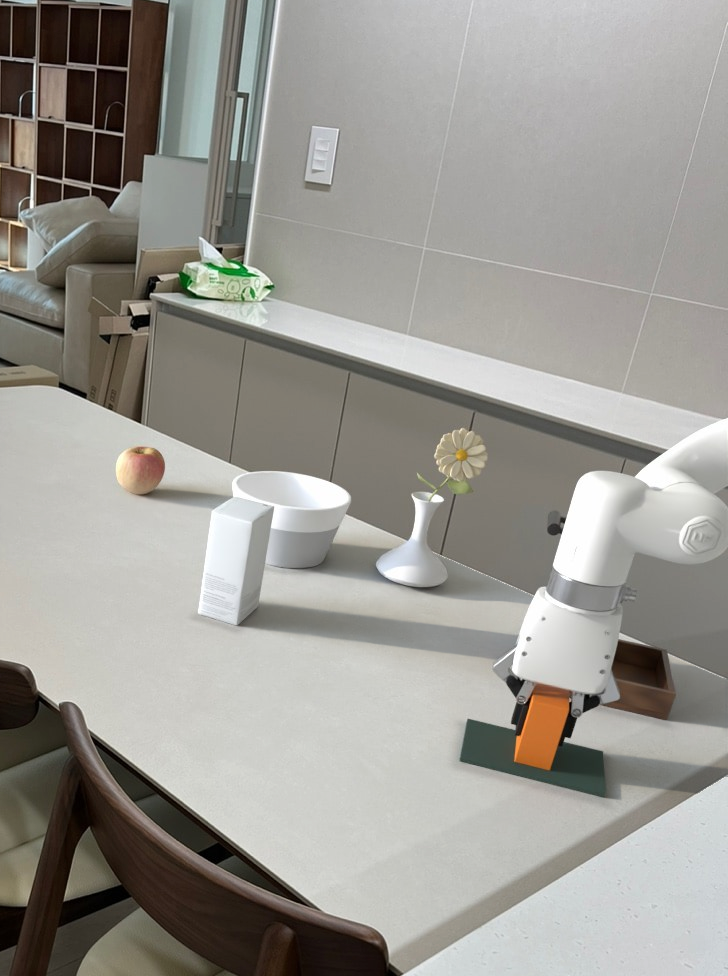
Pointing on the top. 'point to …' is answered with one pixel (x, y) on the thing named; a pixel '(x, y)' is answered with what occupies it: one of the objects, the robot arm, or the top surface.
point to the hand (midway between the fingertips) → (538, 734)
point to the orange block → (542, 726)
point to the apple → (140, 469)
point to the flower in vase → (415, 558)
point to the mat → (567, 770)
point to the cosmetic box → (235, 559)
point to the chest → (642, 680)
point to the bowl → (296, 514)
